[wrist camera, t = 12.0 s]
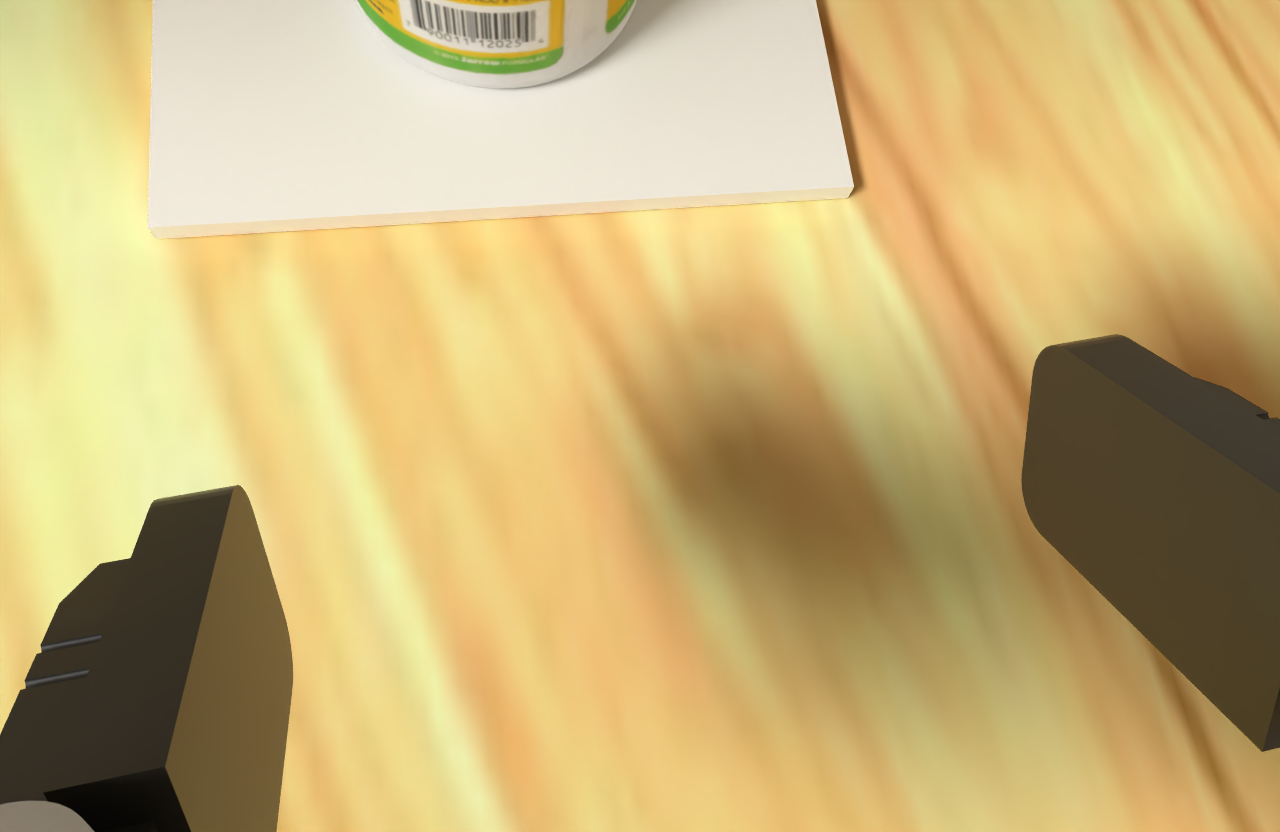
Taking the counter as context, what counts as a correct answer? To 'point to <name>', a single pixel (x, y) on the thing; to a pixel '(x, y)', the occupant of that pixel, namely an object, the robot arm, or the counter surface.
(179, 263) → the counter surface
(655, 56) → the white flat rectangular board
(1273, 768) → the counter surface
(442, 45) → the supplement bottle
